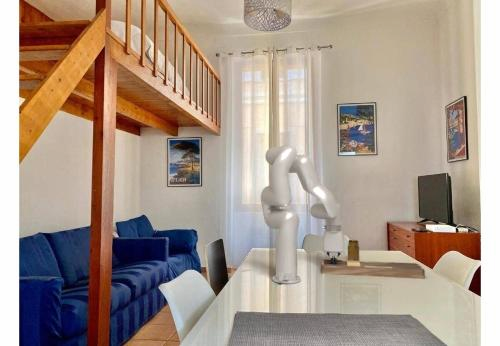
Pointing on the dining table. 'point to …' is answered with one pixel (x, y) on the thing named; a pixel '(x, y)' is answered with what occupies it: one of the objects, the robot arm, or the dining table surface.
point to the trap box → (375, 269)
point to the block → (352, 263)
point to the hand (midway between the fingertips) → (333, 265)
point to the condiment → (353, 250)
